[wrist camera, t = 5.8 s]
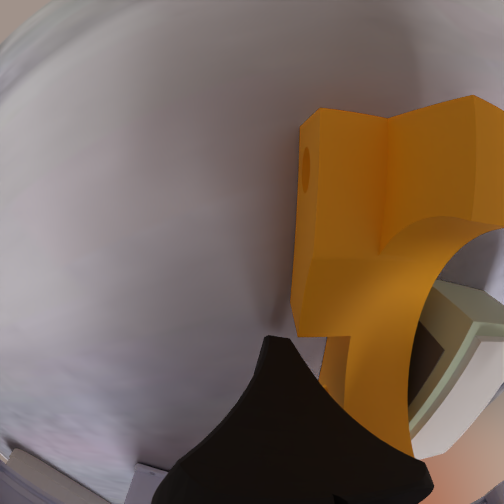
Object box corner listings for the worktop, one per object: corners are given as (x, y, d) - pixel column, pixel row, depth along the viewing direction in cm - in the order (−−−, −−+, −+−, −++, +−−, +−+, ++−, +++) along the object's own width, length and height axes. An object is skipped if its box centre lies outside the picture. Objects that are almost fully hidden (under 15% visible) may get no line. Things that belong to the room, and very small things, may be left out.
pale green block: (351, 408, 12) (370, 472, 8) (418, 275, 10) (479, 327, 6) (419, 405, 13) (445, 456, 8) (483, 290, 10) (536, 331, 6)
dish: (145, 514, 22) (138, 539, 18) (112, 519, 28) (107, 536, 23) (9, 430, 19) (-6, 452, 14) (18, 461, 25) (9, 477, 20)
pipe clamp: (299, 126, 9) (373, 59, 3) (409, 142, 9) (546, 139, 2) (279, 399, 12) (286, 515, 6) (361, 393, 12) (398, 495, 6)
